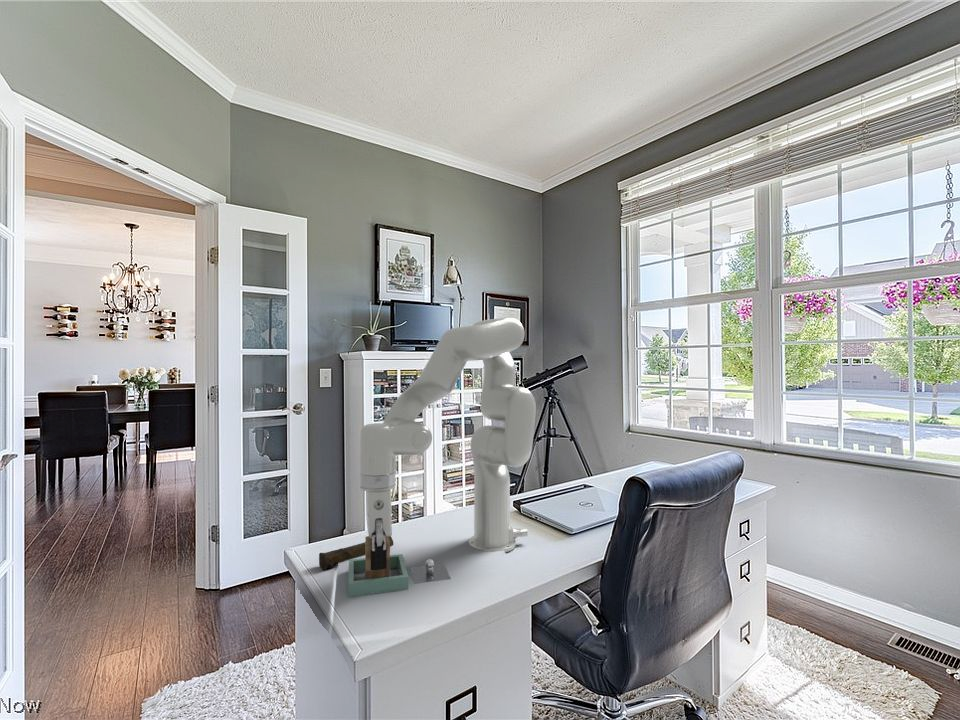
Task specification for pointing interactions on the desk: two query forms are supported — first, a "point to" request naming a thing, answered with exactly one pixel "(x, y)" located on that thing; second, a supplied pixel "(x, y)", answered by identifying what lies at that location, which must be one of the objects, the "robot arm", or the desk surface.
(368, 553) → the brown wooden block
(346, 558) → the hand tool
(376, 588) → the bin
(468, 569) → the desk surface
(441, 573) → the stud base
